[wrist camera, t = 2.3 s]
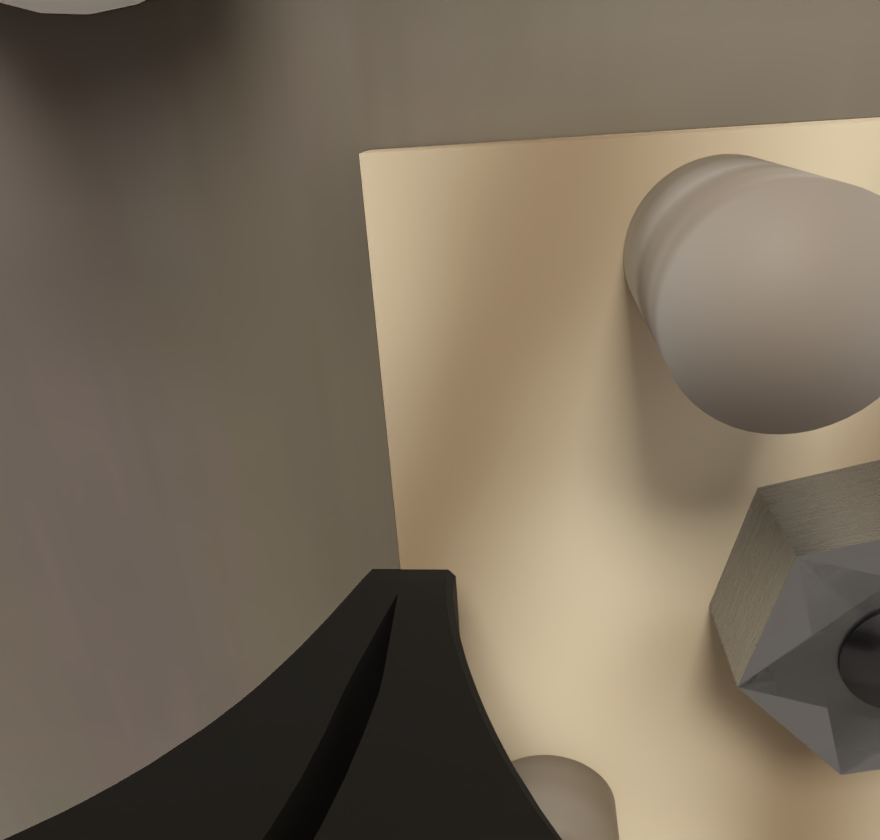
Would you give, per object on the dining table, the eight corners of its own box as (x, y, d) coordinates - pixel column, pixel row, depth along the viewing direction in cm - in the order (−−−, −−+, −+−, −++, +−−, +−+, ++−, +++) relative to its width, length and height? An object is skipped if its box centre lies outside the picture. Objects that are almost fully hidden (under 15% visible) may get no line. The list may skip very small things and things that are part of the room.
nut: (998, 432, 11) (1090, 499, 10) (1018, 645, 13) (1101, 740, 11) (683, 504, 13) (710, 577, 11) (731, 695, 14) (763, 790, 12)
